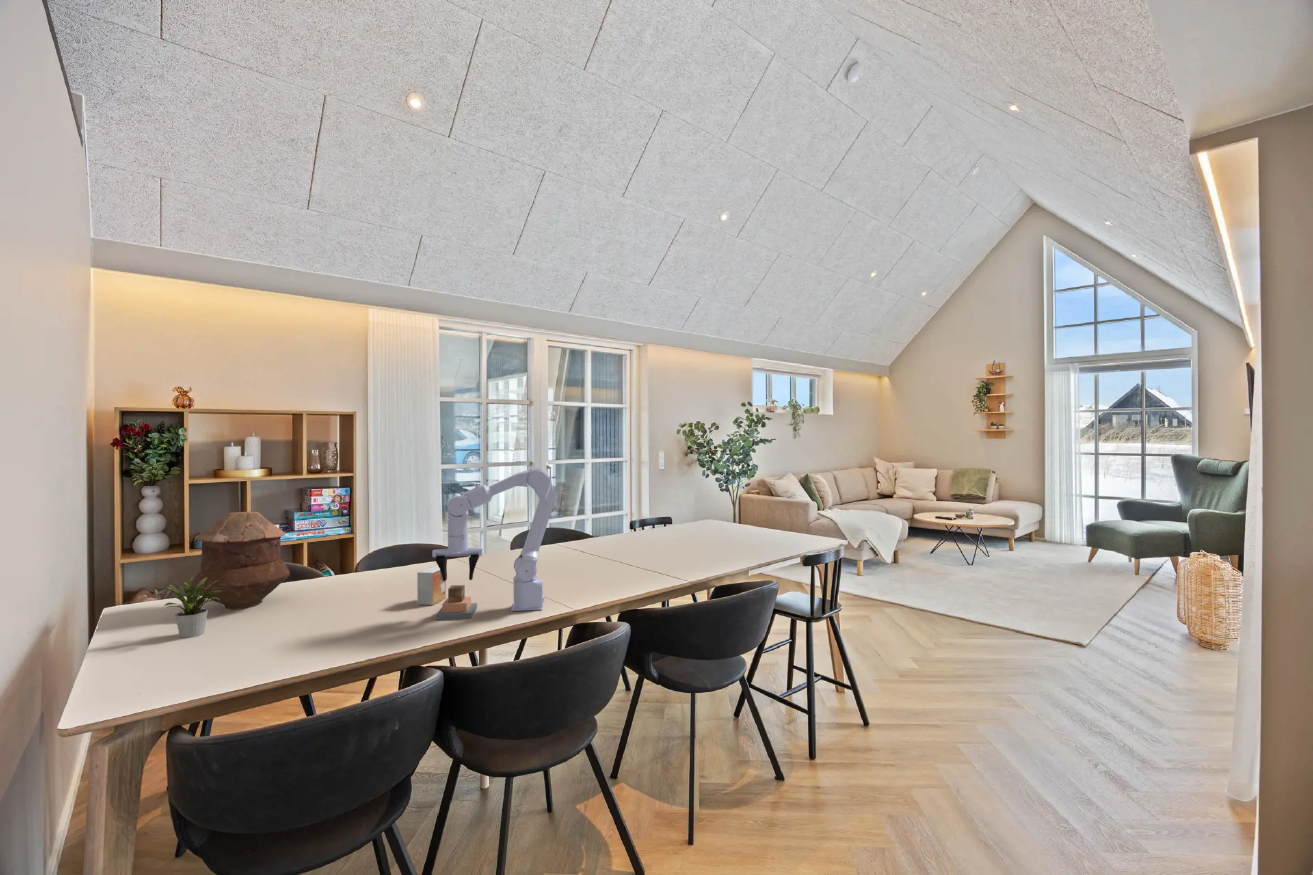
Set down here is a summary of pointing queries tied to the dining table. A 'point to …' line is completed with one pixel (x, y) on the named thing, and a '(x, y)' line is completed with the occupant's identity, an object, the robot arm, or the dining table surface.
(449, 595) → the walnut cube
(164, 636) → the dining table surface
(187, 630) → the house plant
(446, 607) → the terracotta tile
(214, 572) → the pottery vessel
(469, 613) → the slate tile
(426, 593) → the small box
